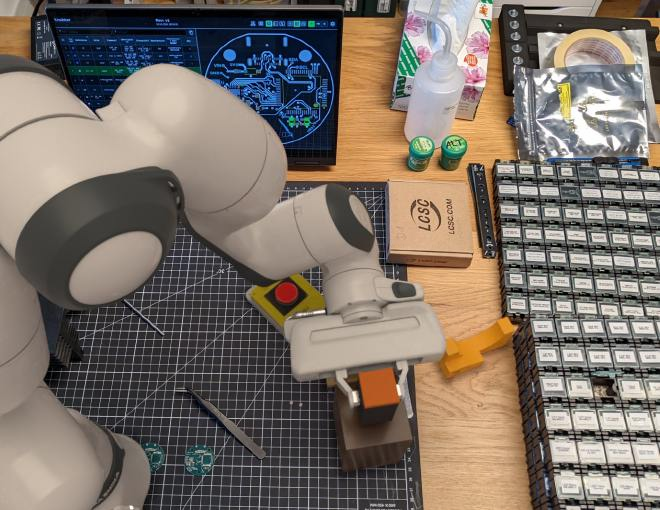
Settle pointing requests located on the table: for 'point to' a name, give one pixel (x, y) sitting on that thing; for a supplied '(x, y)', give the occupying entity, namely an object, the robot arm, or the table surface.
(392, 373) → the orange and black block
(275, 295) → the emergency button
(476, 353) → the orange curved piece
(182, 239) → the table surface
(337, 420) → the stand
